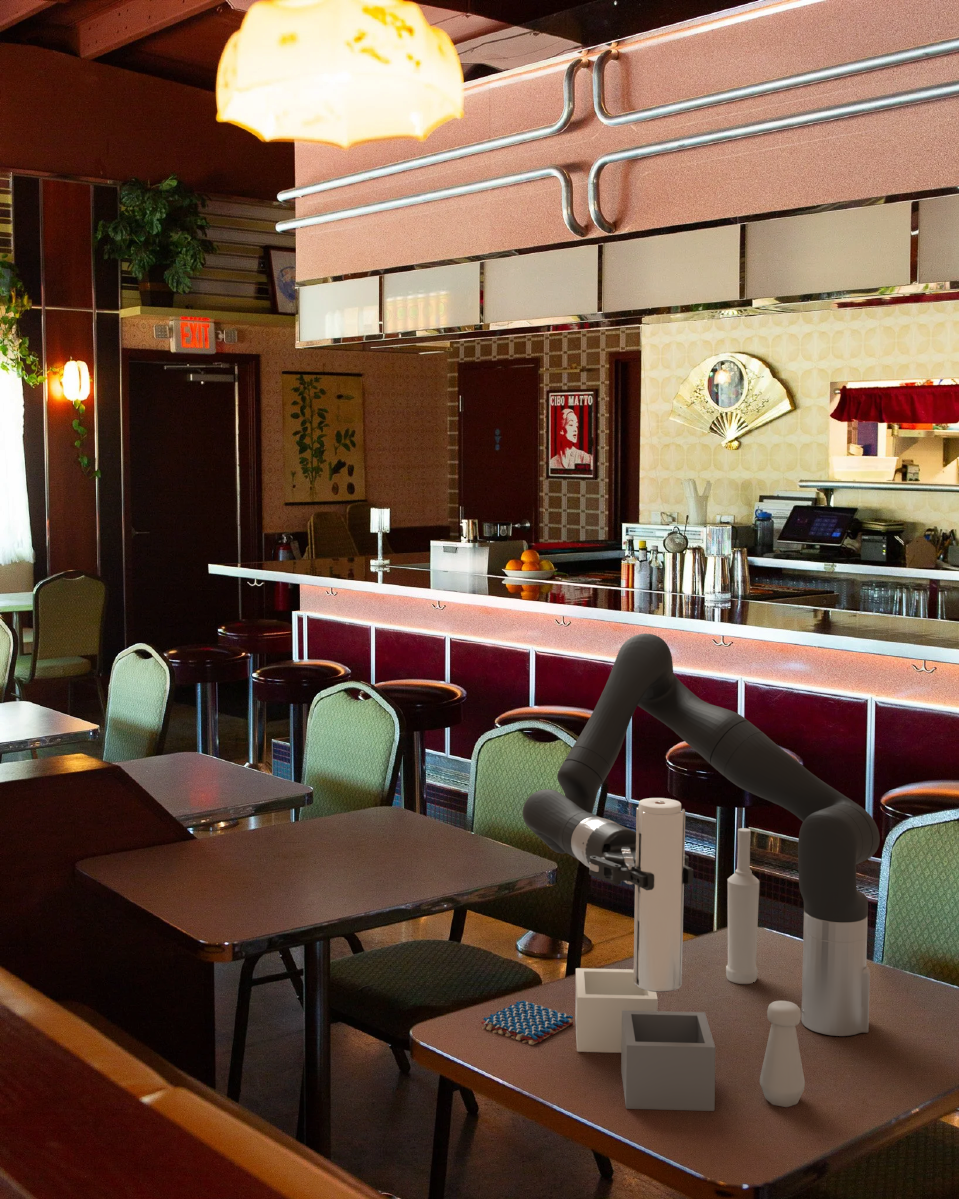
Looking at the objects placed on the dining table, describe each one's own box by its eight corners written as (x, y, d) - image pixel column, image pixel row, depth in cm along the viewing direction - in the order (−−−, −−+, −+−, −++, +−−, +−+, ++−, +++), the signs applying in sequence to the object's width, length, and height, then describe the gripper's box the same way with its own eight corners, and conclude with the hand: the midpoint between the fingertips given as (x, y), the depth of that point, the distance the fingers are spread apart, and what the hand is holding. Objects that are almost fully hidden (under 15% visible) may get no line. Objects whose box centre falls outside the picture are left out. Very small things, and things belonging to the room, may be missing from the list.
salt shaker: (754, 1090, 174) (756, 996, 173) (795, 1088, 175) (798, 994, 174) (767, 1110, 168) (769, 1013, 167) (810, 1109, 169) (813, 1012, 168)
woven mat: (520, 1009, 203) (520, 996, 202) (576, 1027, 196) (576, 1014, 196) (477, 1030, 195) (477, 1017, 194) (533, 1050, 188) (533, 1036, 188)
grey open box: (703, 1071, 180) (704, 1012, 179) (714, 1111, 168) (715, 1047, 168) (621, 1069, 180) (621, 1010, 180) (626, 1108, 169) (626, 1045, 168)
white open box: (650, 1021, 197) (651, 969, 196) (657, 1053, 186) (657, 999, 185) (575, 1019, 198) (575, 968, 197) (576, 1051, 186) (577, 997, 186)
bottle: (722, 981, 213) (725, 832, 211) (728, 971, 218) (731, 824, 216) (754, 986, 211) (757, 835, 209) (760, 975, 216) (763, 827, 214)
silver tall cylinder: (680, 994, 172) (684, 809, 169) (631, 990, 173) (634, 806, 171) (683, 976, 178) (687, 797, 176) (635, 972, 179) (638, 794, 177)
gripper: (563, 827, 184) (624, 858, 169) (650, 817, 190) (717, 846, 175) (562, 879, 185) (623, 914, 169) (649, 867, 191) (715, 900, 175)
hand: (670, 879), depth 172 cm, fingers closed on silver tall cylinder, 5 cm apart
